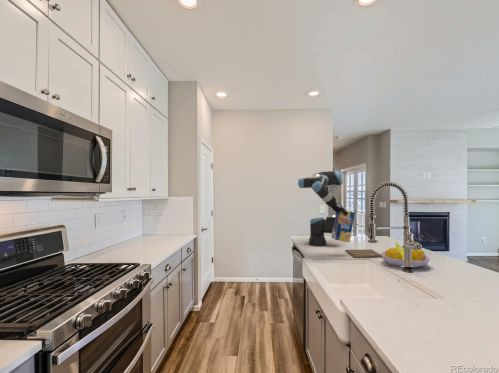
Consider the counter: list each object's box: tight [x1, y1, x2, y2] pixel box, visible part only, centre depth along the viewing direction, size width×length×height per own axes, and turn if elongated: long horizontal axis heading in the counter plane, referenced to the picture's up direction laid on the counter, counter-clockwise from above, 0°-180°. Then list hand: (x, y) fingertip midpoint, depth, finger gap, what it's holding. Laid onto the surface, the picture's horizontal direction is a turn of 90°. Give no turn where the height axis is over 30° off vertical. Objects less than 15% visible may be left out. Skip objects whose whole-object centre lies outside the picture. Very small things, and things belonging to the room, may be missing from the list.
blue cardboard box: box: [330, 209, 356, 243], centre depth 192 cm, size 7×11×22 cm, turn 99°
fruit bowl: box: [379, 241, 431, 268], centre depth 165 cm, size 28×27×11 cm
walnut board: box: [344, 249, 382, 259], centre depth 191 cm, size 20×20×1 cm
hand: (349, 221), depth 192 cm, fingers closed on blue cardboard box, 2 cm apart
